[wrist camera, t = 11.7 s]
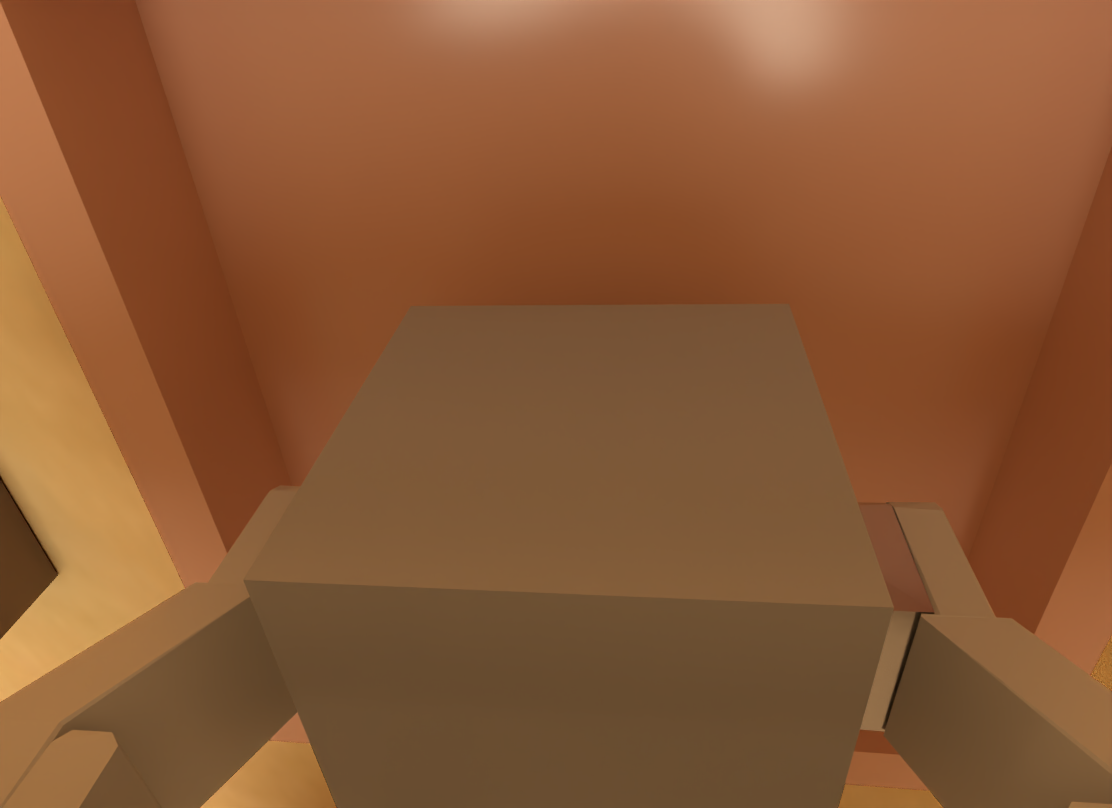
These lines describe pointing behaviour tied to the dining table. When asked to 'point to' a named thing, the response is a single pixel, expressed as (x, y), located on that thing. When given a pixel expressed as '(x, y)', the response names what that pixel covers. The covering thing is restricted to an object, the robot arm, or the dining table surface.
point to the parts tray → (19, 564)
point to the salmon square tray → (591, 233)
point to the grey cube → (579, 568)
